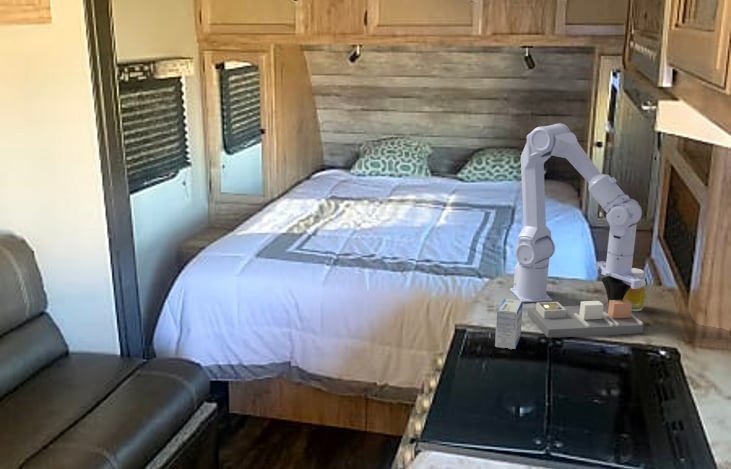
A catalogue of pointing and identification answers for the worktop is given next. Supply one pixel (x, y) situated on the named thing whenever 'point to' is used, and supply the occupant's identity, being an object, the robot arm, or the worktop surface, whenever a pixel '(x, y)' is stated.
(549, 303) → the brass button
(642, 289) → the supplement bottle
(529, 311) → the switch panel
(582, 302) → the ivory rectangular block
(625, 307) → the salmon orange block
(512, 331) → the medicine box
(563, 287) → the worktop surface
